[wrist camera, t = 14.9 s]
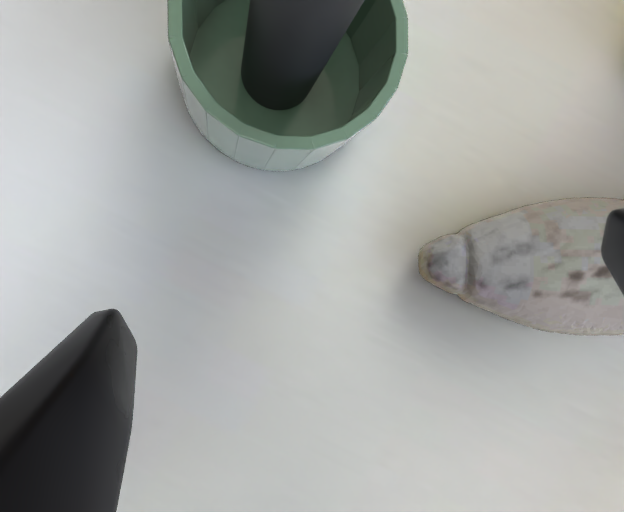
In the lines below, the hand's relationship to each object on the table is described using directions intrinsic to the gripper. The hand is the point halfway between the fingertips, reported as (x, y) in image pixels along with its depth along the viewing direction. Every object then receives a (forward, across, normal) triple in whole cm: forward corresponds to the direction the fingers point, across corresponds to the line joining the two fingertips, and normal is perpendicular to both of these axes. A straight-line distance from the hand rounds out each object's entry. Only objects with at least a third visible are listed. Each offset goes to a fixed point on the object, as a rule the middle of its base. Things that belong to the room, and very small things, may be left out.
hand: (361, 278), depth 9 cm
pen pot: (+14, +1, 0) cm, 15 cm away
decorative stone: (+11, -10, +11) cm, 19 cm away
